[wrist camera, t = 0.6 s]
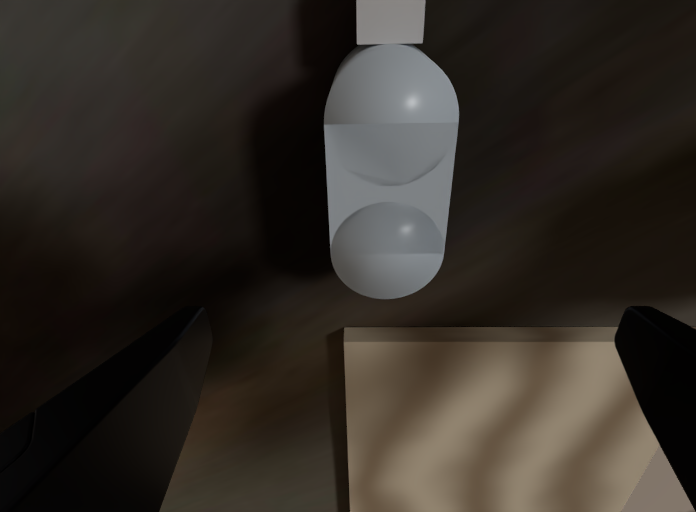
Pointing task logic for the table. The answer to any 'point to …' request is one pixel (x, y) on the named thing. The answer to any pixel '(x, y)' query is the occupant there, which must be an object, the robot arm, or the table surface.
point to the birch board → (491, 420)
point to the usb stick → (389, 154)
